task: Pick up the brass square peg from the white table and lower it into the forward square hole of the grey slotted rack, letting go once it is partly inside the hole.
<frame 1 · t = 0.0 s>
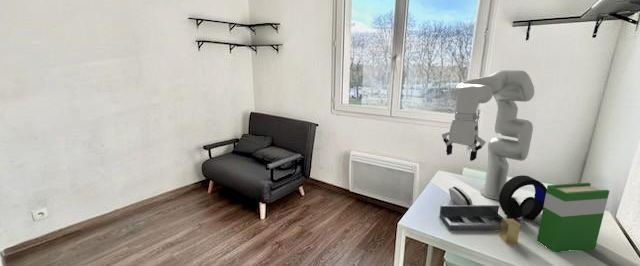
hand: (460, 157, 118), 31 cm above the table, tool pointing down, fingers open, 9 cm apart
hardback book: (565, 245, 111), on the table
brass peg: (508, 239, 114), on the table
headphones: (519, 218, 130), on the table
white game console: (460, 206, 142), on the table
grey slotted rack: (474, 224, 125), on the table
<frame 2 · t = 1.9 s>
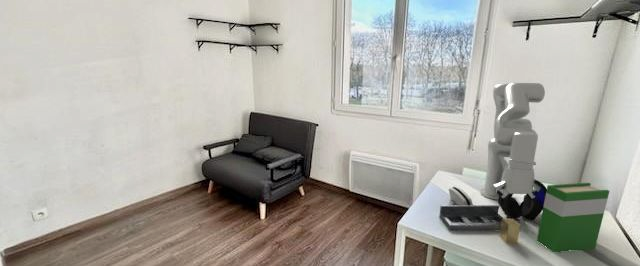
hand: (513, 206, 110), 15 cm above the table, tool pointing down, fingers open, 9 cm apart
nothing on the table moved.
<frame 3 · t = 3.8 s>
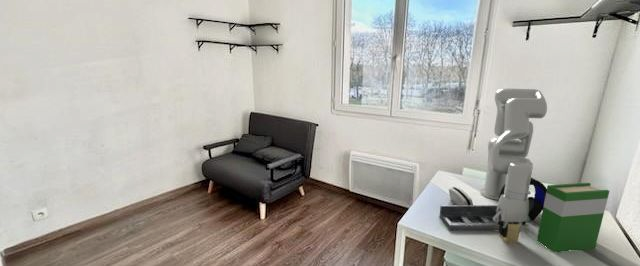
hand: (508, 235, 114), 2 cm above the table, tool pointing down, fingers closed on brass peg, 4 cm apart
brass peg: (508, 239, 114), on the table, touching gripper
everything else where it was.
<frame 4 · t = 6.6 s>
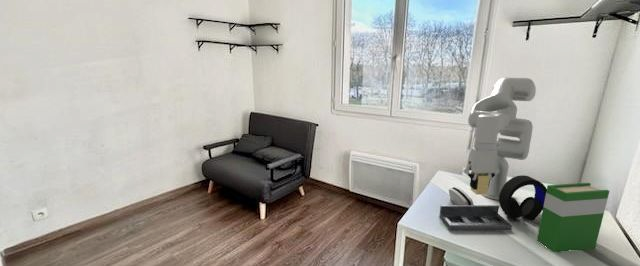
hand: (479, 187, 117), 19 cm above the table, tool pointing down, fingers closed on brass peg, 4 cm apart
brass peg: (478, 192, 117), point 17 cm above the table, touching gripper
everything else where it was.
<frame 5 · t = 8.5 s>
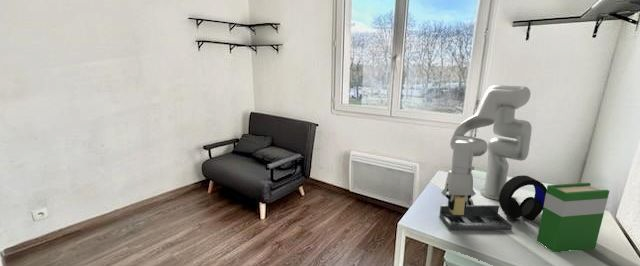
hand: (456, 208, 123), 8 cm above the table, tool pointing down, fingers closed on brass peg, 4 cm apart
brass peg: (456, 212, 124), point 6 cm above the table, touching gripper
when the fingers open (3 cm above the table, at t = 9.8 s): brass peg drops 1 cm, resting in grey slotted rack.
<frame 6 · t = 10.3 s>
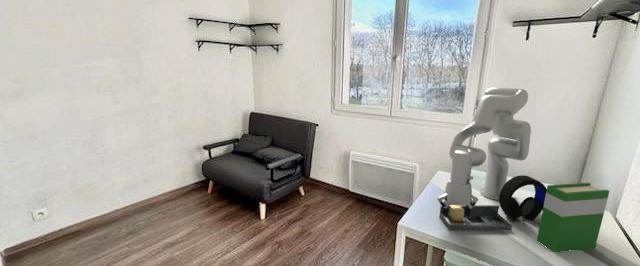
hand: (455, 215, 124), 4 cm above the table, tool pointing down, fingers open, 9 cm apart
brass peg: (454, 224, 125), resting in grey slotted rack
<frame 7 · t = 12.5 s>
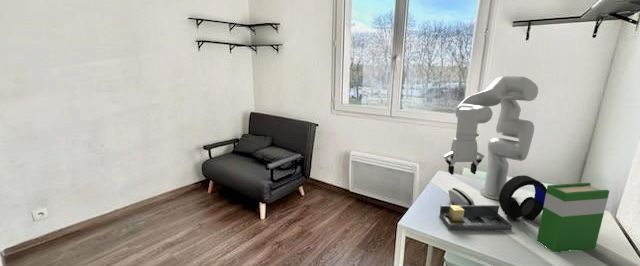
hand: (461, 173, 126), 22 cm above the table, tool pointing down, fingers open, 9 cm apart
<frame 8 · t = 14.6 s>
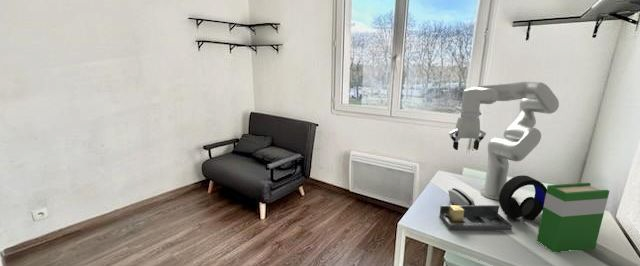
hand: (465, 149, 139), 28 cm above the table, tool pointing down, fingers open, 9 cm apart
at the end: brass peg 0.0 cm from the target spot on the grey slotted rack, point 0.0 cm above the grey slotted rack's base; brass peg tilted 0°; the gripper is holding nothing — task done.
